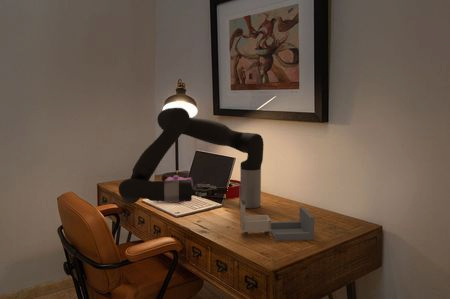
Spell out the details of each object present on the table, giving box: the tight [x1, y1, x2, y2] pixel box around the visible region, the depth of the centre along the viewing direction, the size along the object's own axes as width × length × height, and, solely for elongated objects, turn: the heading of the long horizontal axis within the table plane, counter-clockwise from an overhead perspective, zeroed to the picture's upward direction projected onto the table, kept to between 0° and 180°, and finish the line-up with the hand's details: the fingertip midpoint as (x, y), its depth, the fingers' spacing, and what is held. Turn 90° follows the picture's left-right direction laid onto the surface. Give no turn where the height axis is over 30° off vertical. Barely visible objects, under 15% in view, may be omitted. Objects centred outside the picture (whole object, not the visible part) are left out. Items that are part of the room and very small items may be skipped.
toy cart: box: [240, 197, 272, 237], centre depth 143 cm, size 7×10×13 cm
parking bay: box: [269, 206, 315, 242], centre depth 145 cm, size 13×14×8 cm
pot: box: [164, 175, 194, 186], centre depth 193 cm, size 18×17×12 cm
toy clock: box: [225, 178, 240, 200], centre depth 204 cm, size 20×6×20 cm
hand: (227, 190), depth 141 cm, fingers closed
